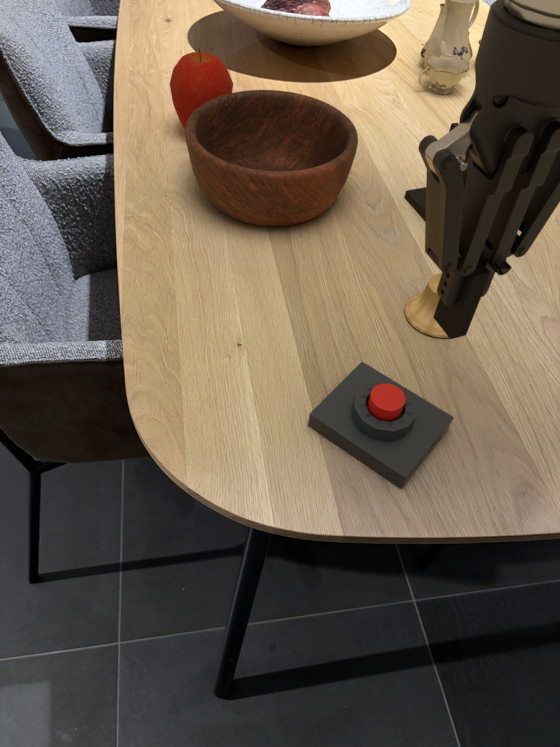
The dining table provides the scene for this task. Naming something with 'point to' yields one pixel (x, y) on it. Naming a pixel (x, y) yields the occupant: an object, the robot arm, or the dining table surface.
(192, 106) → the apple
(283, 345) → the dining table surface
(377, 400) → the button
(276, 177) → the wooden bowl
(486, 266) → the robot arm
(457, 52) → the chinaware
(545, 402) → the dining table surface
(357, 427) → the push button switch
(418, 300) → the hand bell
